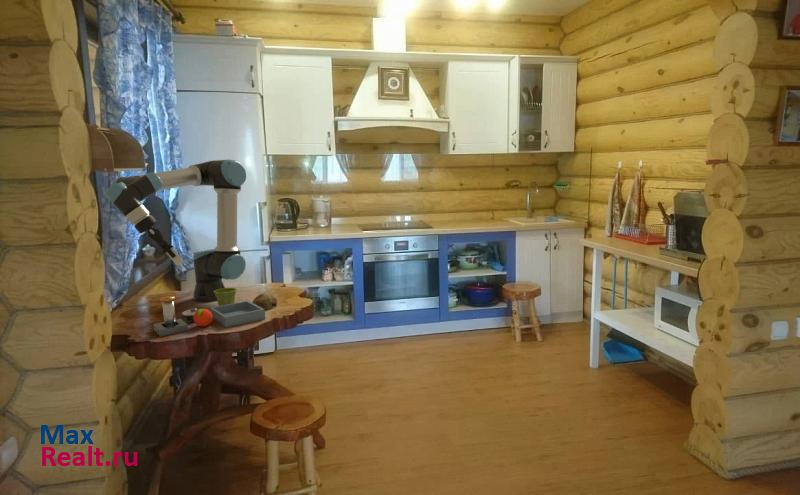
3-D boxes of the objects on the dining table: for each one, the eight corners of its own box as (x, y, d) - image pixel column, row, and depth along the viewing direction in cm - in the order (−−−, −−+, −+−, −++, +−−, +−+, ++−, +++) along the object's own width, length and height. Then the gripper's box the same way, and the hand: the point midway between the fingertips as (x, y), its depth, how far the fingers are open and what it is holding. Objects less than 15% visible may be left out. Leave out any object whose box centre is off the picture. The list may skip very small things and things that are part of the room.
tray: (210, 317, 201) (210, 307, 200) (248, 309, 210) (247, 300, 210) (225, 327, 187) (224, 317, 186) (265, 318, 196) (264, 309, 196)
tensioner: (149, 325, 192) (148, 314, 192) (202, 314, 205) (201, 304, 204) (160, 336, 178) (158, 325, 177) (216, 324, 190) (215, 313, 190)
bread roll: (266, 318, 209) (273, 302, 207) (246, 308, 210) (252, 292, 208) (277, 312, 218) (283, 296, 217) (257, 301, 220) (263, 286, 218)
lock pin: (162, 330, 185) (158, 297, 183) (176, 327, 188) (173, 294, 186) (165, 333, 181) (161, 300, 179) (180, 330, 184) (176, 297, 182)
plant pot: (213, 308, 213) (211, 289, 212) (235, 305, 218) (234, 286, 216) (217, 313, 205) (215, 294, 204) (240, 310, 210) (238, 290, 208)
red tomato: (209, 329, 185) (207, 311, 184) (190, 330, 185) (188, 312, 183) (215, 322, 193) (214, 305, 192) (197, 323, 192) (196, 306, 191)
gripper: (136, 226, 194) (173, 267, 199) (130, 224, 171) (171, 271, 176) (152, 215, 196) (188, 256, 202) (148, 212, 173) (189, 258, 179)
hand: (180, 263), depth 189 cm, fingers open, 13 cm apart
